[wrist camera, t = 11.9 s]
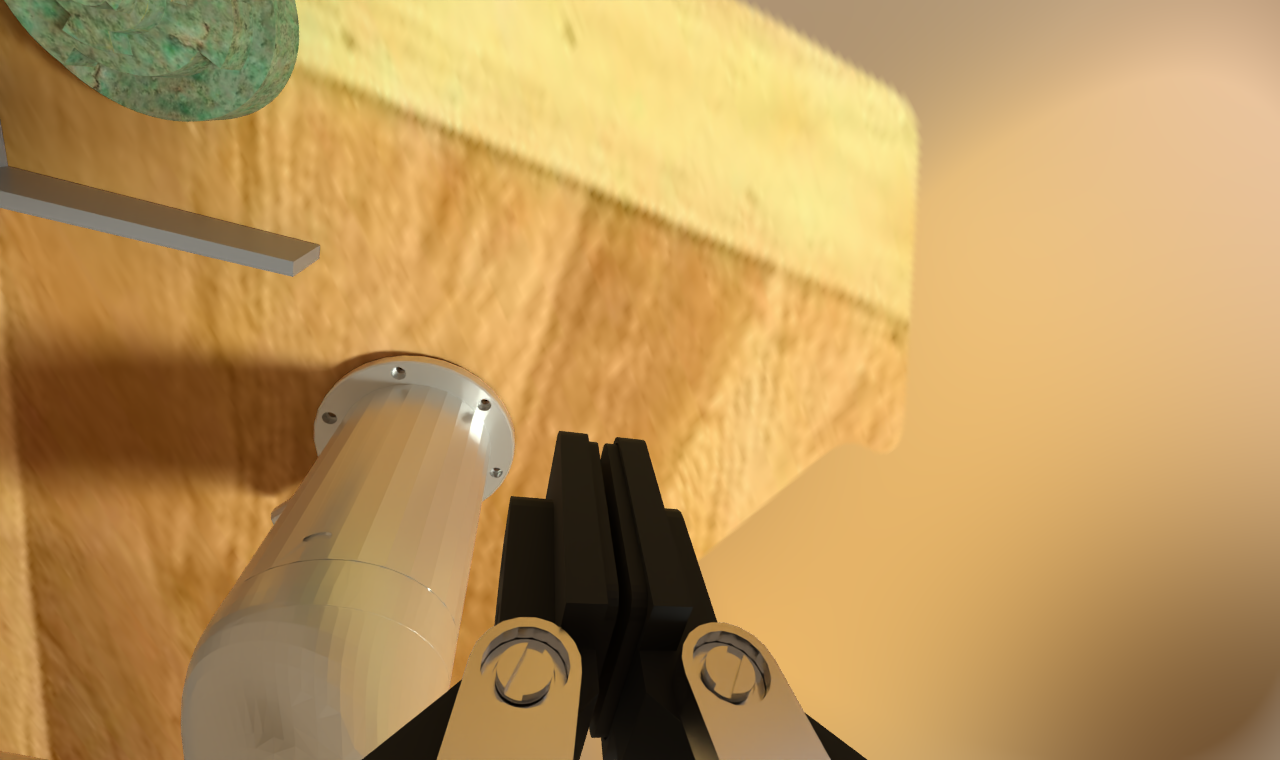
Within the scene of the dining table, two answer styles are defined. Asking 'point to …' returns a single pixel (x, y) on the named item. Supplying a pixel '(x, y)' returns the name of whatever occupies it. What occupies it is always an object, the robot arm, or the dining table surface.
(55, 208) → the box
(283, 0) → the decorative artifact
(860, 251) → the dining table surface
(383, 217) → the dining table surface
